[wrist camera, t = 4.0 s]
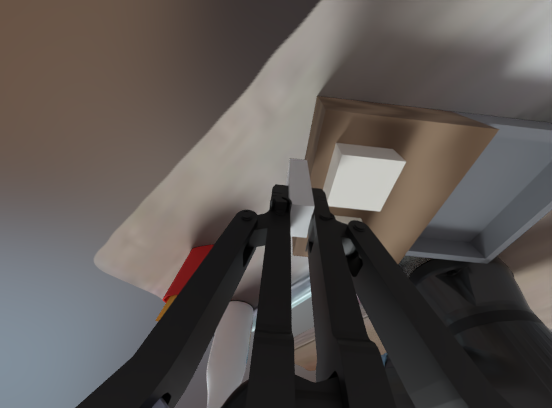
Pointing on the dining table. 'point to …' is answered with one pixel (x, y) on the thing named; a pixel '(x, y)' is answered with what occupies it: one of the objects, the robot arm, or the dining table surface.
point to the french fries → (184, 275)
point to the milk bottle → (229, 353)
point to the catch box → (494, 195)
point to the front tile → (361, 176)
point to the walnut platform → (410, 146)
